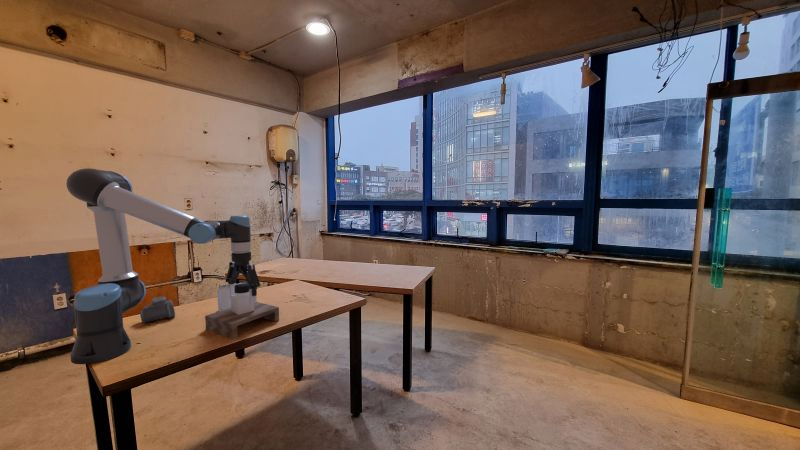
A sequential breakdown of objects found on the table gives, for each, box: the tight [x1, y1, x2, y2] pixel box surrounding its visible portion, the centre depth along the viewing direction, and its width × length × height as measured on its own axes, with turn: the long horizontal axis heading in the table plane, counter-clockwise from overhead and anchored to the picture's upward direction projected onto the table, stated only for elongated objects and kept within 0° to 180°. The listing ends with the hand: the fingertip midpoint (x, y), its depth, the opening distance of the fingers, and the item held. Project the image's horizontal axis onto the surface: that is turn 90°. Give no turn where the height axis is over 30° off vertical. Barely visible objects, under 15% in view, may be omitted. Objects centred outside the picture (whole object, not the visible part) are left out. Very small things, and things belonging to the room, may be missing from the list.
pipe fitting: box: [139, 296, 176, 324], centre depth 138 cm, size 12×8×10 cm, turn 133°
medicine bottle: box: [231, 282, 255, 315], centre depth 133 cm, size 7×7×12 cm
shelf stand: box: [204, 301, 280, 340], centre depth 133 cm, size 18×22×6 cm
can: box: [216, 284, 231, 312], centre depth 151 cm, size 6×6×12 cm
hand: (243, 300), depth 133 cm, fingers open, 13 cm apart
